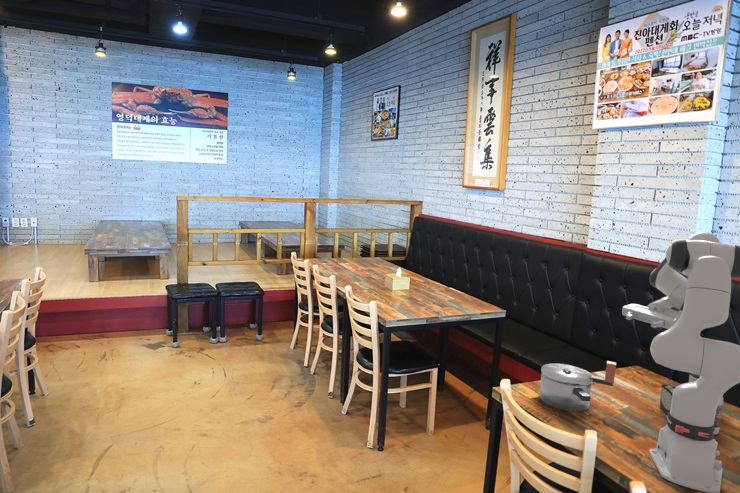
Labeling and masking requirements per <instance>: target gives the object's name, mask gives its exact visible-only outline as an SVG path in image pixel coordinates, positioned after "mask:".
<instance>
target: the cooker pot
mask: <svg viewBox="0 0 740 493" xmlns="http://www.w3.org/2000/svg"><path fill="white" fill-rule="evenodd" d="M592 387H593V383H591V384H589V385H570V384H564V383H560V382H557V381H554V380H552V379H549V378H547V377H546V376H544V375H543V374H542V373H541V376H540V385H539V392H538V393H539V394H538V395H539V399H540V400H541V401H542V402H543V403H545V404H546V405H548V406H550V407H552V408H556V409H559V410H562V411H567V412H584V411H587V410H588V409H589V408H590V404H591V397H592Z"/></svg>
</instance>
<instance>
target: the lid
mask: <svg viewBox="0 0 740 493" xmlns="http://www.w3.org/2000/svg"><path fill="white" fill-rule="evenodd" d="M616 367H617V362H615V361H612V360H611V361H610V360H606V367H605V375H604V377H603V376H597V375H593V374H592V373H591V372H589V371H588V370H586V369H583V368H582V367H578V366H574V365H570V364H566V363H546V364H543V365H542V366H541V368H540V371H541V375H542V374H543V375H544V376H546V377H547V378H549V379H552V380H554V381H557V382H560V383H564V384H570V385H589V384H591V383H592V384H593V383H596V384H601V385H604V386H609V387H613V386H614V385H613V384H614V383H615V376H616V369H617V368H616Z"/></svg>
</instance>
